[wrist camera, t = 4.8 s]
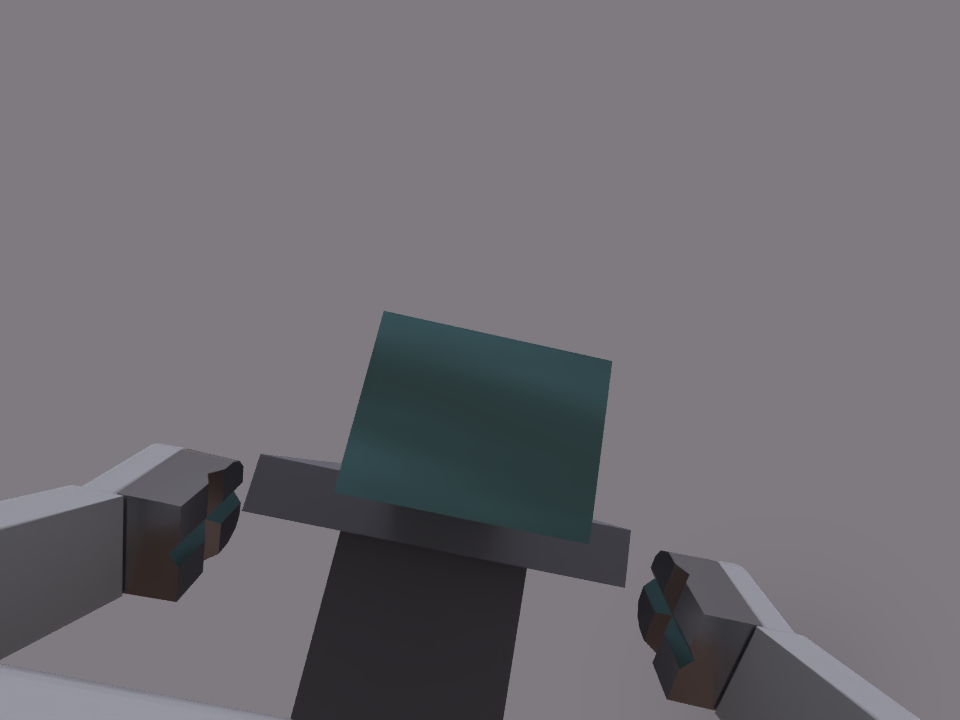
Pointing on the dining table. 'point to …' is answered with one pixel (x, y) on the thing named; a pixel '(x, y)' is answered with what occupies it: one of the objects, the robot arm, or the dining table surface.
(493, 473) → the teal block
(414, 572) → the pedestal
